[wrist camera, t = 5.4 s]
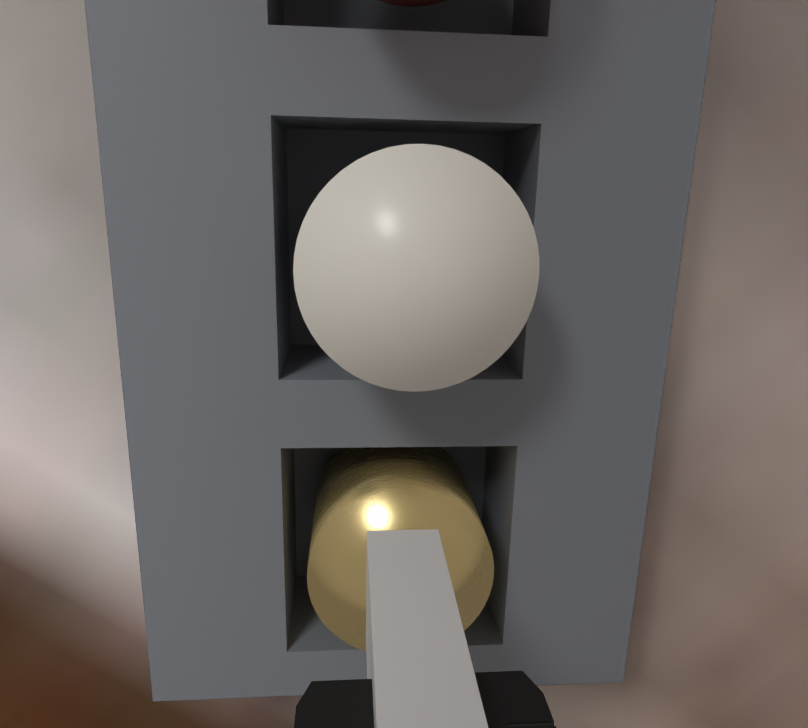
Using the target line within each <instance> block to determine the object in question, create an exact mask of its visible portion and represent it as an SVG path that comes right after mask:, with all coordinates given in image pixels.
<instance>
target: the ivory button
mask: <svg viewBox="0 0 808 728" xmlns="http://www.w3.org/2000/svg"><path fill="white" fill-rule="evenodd" d="M539 260H540V259H539V251H538V243H537V239H536V235H535V231H534V227H533V225H532V222H531V220H530V217H529V215H528V212H527V210H526V209H525V207H524V205H523V203H522V202H521V200H520V198H519V197H518V195H517V194H516V193H515V191H514V190H513V189H512V187H511V186H510V185H509V184H508V183H507V182H506V181H505V180H504V179H503V178H502V177H501V176H500V175H499V174H498V173H497V172H495V171H494V170H493V169H492V168H490V167H489V166H488V165H486V164H485V163H483V162H481V161H480V160H478V159H476V158H474V157H473V156H471V155H468V154H466V153H463V152H461V151H458V150H456V149H452V148H448V147H444V146H440V145H431V144H404V145H398V146H393V147H388V148H385V149H382V150H379V151H375V152H372V153H370V154H368V155H366V156H364V157H362V158H360V159H358V160H356V161H355V162H353V163H352V164H350V165H349V166H347V167H346V168H344V169H343V170H341V171H340V172H339V173H338V174H337V175H336V176H335V177H333V178H332V179H331V180H330V181H329V182H328V183H327V184H326V186H325V187H324V188H323V189H322V190H321V191H320V193H319V194H318V195H317V197H316V198H315V200H314V201H313V203H312V205H311V206H310V208H309V209H308V212H307V214H306V216H305V218H304V220H303V222H302V225H301V228H300V231H299V234H298V237H297V241H296V247H295V252H294V263H293V277H294V288H295V293H296V298H297V302H298V306H299V308H300V311H301V314H302V317H303V319H304V321H305V323H306V325H307V327H308V329H309V331H310V333H311V335H312V336H313V337H314V339H315V340H316V342H317V343H318V344H319V346H320V347H321V348H322V349H323V350H324V352H325V353H326V354H327V355H328V356H329V357H330V358H331V359H332V360H333V361H335V362H336V363H337V364H338V365H339V366H341V367H342V368H343V369H345V370H346V371H348V372H349V373H351V374H352V375H354V376H355V377H357V378H360V379H362V380H364V381H366V382H368V383H370V384H374V385H377V386H380V387H383V388H387V389H392V390H398V391H410V392H419V391H431V390H437V389H442V388H446V387H449V386H452V385H455V384H459V383H461V382H463V381H465V380H467V379H470V378H472V377H474V376H475V375H477V374H479V373H480V372H482V371H483V370H485V369H487V368H488V367H489V366H490V365H492V364H493V363H494V362H495V361H496V360H498V359H499V358H500V357H501V356H502V355H503V354H504V353H505V352H506V351H507V350H508V349H509V347H510V346H511V345H512V343H513V342H514V341H515V339H516V338H517V337H518V335H519V334H520V332H521V330H522V329H523V327H524V325H525V323H526V322H527V319H528V317H529V315H530V312H531V310H532V307H533V304H534V300H535V297H536V293H537V288H538V281H539Z"/></svg>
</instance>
